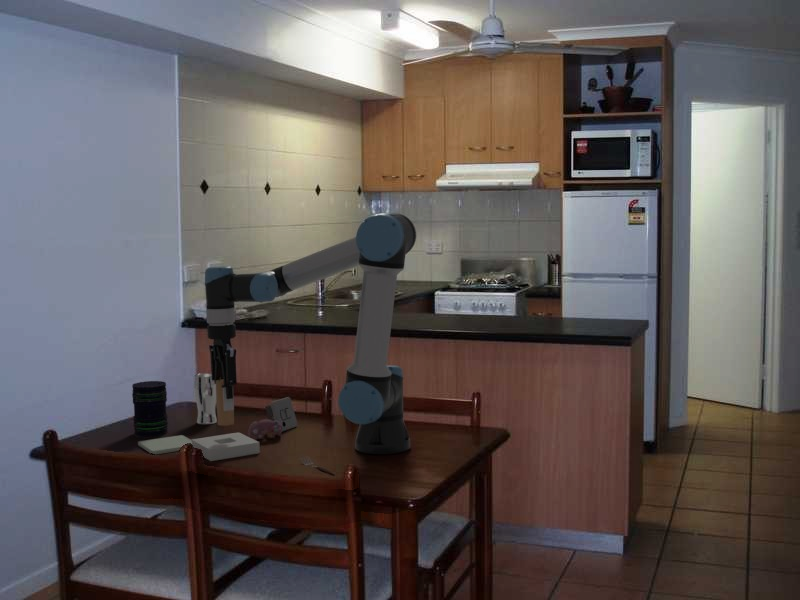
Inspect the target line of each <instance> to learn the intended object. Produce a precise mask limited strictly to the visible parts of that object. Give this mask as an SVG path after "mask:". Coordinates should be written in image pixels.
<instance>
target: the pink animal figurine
mask: <svg viewBox="0 0 800 600" xmlns="http://www.w3.org/2000/svg"><path fill="white" fill-rule="evenodd" d="M264 431H267V432H266V435H267V436H266V437H267V438H268V439H273V438H275V437H276V436H277V437H280V436H281V434H282V425H281V424H280V422H278V421H277V420H274V421H272V420H268V418H267V419H260V420H259V421H255V420H254V421H252V423H251V424H249V427H248V430H247V437H250V438H253V436H255V438H256V439H257V440H263V439H264V437H265V433H264Z"/></svg>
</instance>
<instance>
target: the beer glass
mask: <svg viewBox="0 0 800 600" xmlns="http://www.w3.org/2000/svg"><path fill="white" fill-rule="evenodd" d="M193 384H194V385H193V387H194V388H193V389H194V391H193V392H194V398H195V402H196V407H197V418H196V419H197V420H196V423H197V424H198V425H213V424H216V423H218V418H217V416H216V415H217V414H216V407H217V405H216V384H215V383H214V381H212V374H211V372H209V373H208V372H206V373H205V372H204V373H197V374H195V375H194V383H193Z"/></svg>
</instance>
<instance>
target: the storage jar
mask: <svg viewBox="0 0 800 600" xmlns="http://www.w3.org/2000/svg"><path fill="white" fill-rule="evenodd" d="M131 394H132V396H131V397H132V404H133V410H134V411H133V413H134V415H133V418H132V420H133V427H134V428H133V430H134V436H135V437H138V438H147V439H148V438H157V437H163V436H165V435H167V434H168V433H169V431H168V426H169V421H168V414H167V401H168V397H167V394H168V393H167V382H166V381H161V380H150V381H149V380H147V381H139V382H136V383H135V382H134V383H133V384H132V393H131Z"/></svg>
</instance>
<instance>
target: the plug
mask: <svg viewBox="0 0 800 600" xmlns="http://www.w3.org/2000/svg"><path fill="white" fill-rule="evenodd" d="M222 385H224V381H223V379H219V380H216V397H217V405H216V413H217V414H216V415H217V416H216V419H217V425H218V426H232V425H234V424H235V416H234V415H235V411H234V410H235V409H234V410H230V411H224V407H223V388H222Z"/></svg>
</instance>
